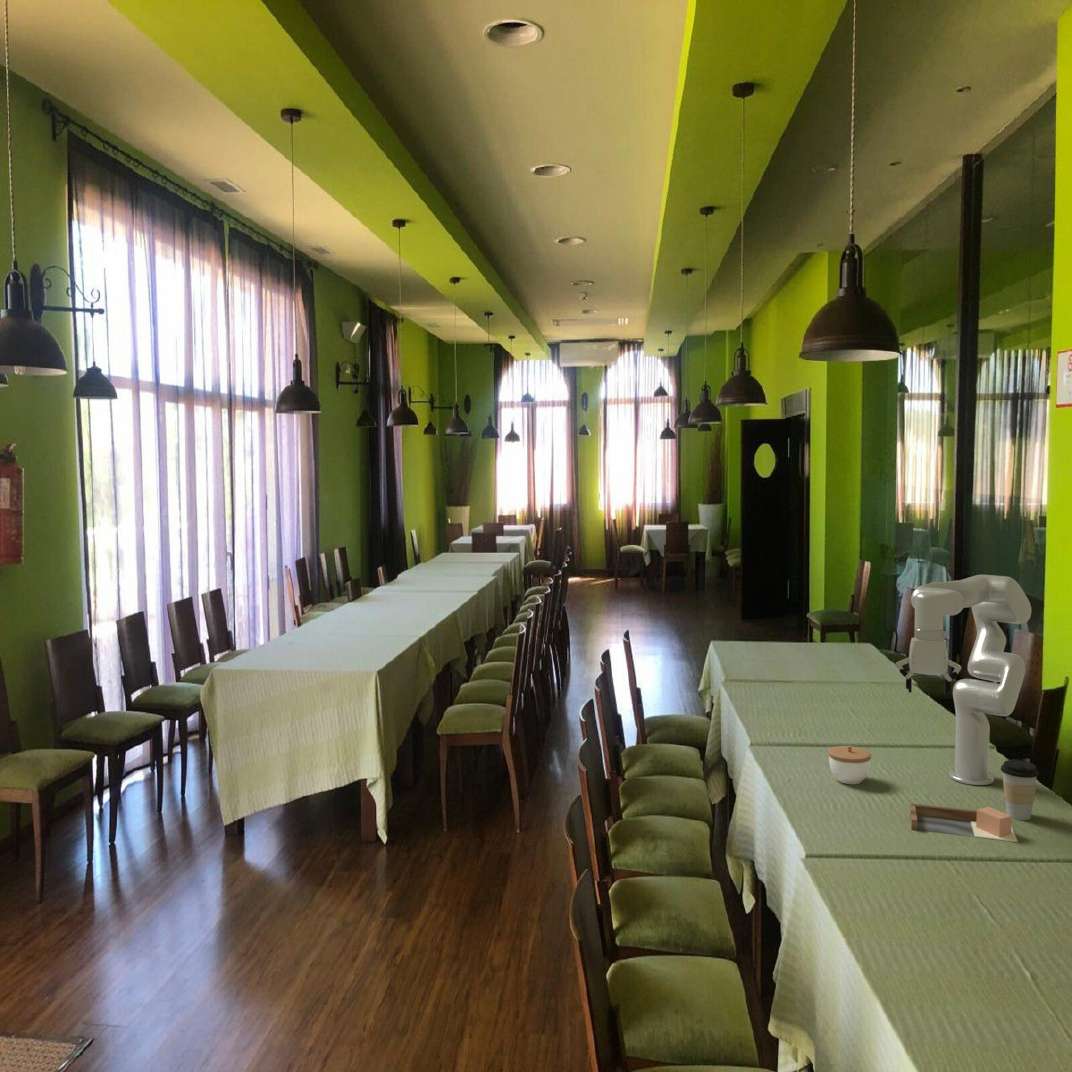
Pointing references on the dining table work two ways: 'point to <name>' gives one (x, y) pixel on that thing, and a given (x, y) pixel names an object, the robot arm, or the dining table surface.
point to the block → (993, 821)
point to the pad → (987, 835)
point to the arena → (942, 820)
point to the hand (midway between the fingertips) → (927, 692)
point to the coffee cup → (1019, 788)
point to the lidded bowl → (849, 763)
